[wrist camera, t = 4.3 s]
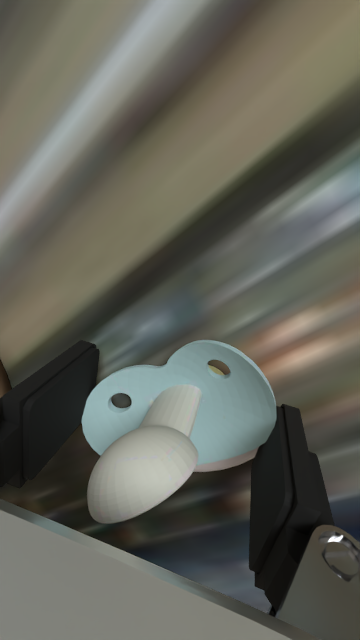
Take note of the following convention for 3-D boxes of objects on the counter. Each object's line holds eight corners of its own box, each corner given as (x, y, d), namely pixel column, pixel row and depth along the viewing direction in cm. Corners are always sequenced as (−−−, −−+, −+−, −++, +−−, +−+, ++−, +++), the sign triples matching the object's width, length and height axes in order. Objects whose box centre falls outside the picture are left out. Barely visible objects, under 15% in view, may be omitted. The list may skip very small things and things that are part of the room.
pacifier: (307, 437, 12) (245, 308, 11) (356, 651, 6) (236, 429, 5) (156, 471, 14) (91, 371, 13) (93, 643, 9) (-31, 497, 8)
